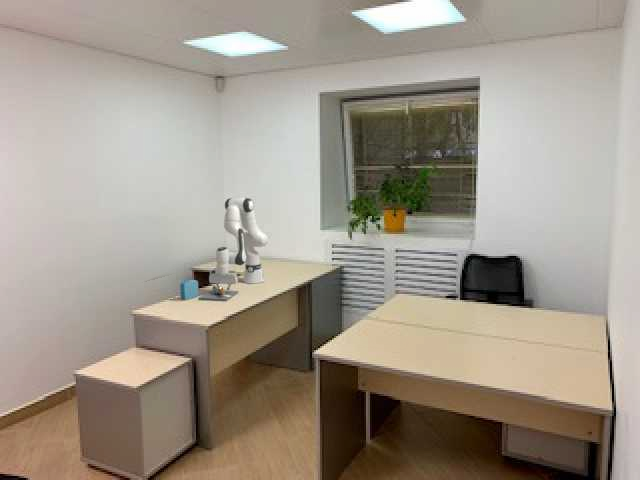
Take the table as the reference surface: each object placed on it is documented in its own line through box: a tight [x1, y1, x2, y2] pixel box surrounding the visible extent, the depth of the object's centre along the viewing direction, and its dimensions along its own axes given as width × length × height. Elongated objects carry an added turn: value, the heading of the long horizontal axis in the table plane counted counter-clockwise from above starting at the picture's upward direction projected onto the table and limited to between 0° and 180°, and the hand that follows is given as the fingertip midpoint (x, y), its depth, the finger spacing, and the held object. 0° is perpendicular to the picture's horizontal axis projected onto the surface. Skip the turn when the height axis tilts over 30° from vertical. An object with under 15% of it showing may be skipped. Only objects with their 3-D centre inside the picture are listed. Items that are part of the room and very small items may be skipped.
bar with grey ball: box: [212, 285, 225, 295], centre depth 339 cm, size 20×6×5 cm, turn 32°
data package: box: [179, 279, 200, 301], centre depth 335 cm, size 12×4×12 cm, turn 145°
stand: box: [198, 289, 239, 302], centre depth 340 cm, size 22×21×2 cm
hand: (223, 289), depth 344 cm, fingers open, 5 cm apart
